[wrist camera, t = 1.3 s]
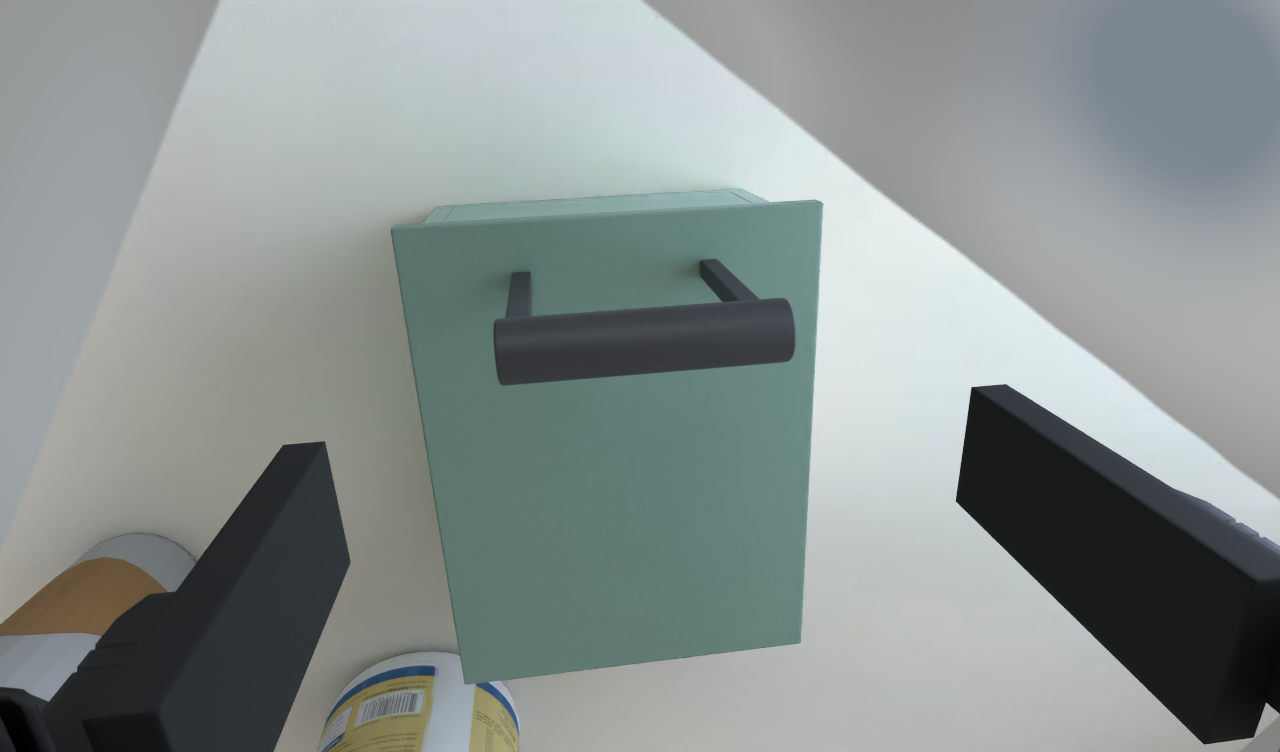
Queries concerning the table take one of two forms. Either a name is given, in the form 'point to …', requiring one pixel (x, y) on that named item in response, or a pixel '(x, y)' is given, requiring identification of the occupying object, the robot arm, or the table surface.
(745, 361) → the box lid
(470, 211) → the green box
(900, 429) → the table surface
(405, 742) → the supplement tub
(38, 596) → the coffee cup
